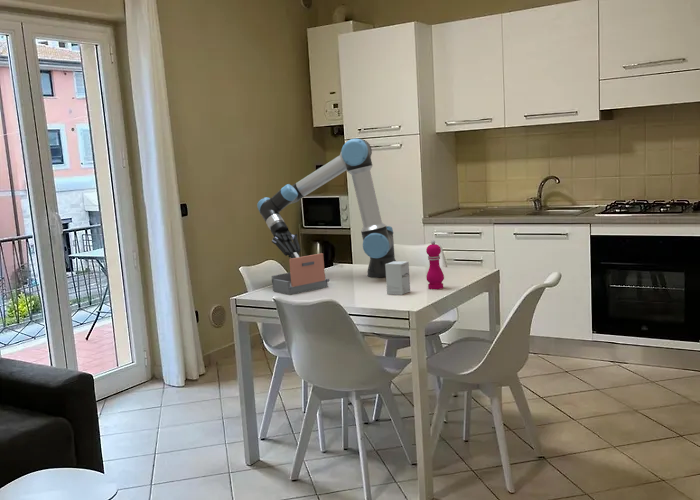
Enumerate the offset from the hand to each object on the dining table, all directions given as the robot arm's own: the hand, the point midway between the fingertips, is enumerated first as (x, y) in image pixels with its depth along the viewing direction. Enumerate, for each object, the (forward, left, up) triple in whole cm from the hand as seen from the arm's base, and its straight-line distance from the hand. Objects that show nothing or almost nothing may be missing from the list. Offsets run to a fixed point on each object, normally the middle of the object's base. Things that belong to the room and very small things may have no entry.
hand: (300, 265), depth 308 cm
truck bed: (+1, -2, -11) cm, 11 cm away
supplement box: (-44, +17, -11) cm, 48 cm away
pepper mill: (-59, +11, -11) cm, 61 cm away
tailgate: (-4, +3, -8) cm, 9 cm away
